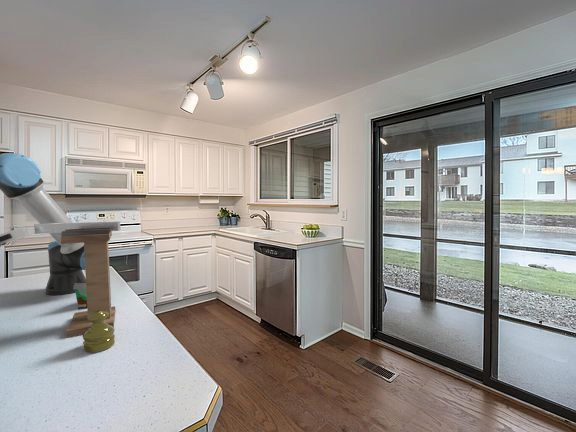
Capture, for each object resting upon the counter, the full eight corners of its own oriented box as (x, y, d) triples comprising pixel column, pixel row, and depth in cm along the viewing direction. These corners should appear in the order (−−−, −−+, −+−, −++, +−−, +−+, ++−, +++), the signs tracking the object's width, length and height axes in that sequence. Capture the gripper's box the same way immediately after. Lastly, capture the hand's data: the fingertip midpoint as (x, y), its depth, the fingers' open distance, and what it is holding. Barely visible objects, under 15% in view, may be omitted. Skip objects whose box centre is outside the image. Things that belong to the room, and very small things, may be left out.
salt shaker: (86, 343, 83) (85, 308, 82) (116, 338, 86) (115, 304, 85) (80, 356, 76) (78, 318, 76) (113, 349, 79) (111, 314, 79)
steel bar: (39, 232, 97) (39, 223, 97) (120, 229, 103) (120, 221, 103) (34, 233, 94) (34, 224, 94) (118, 230, 100) (117, 222, 100)
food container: (88, 311, 107) (87, 284, 106) (74, 310, 108) (73, 283, 107) (114, 299, 119) (113, 275, 118) (102, 298, 120) (100, 275, 119)
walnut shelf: (75, 318, 100) (69, 227, 98) (115, 311, 106) (111, 225, 104) (66, 337, 86) (60, 232, 84) (113, 328, 92) (108, 229, 90)
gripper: (-45, 270, 93) (35, 240, 106) (-73, 280, 74) (30, 241, 86) (-59, 250, 92) (24, 222, 104) (-91, 253, 72) (16, 218, 84)
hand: (27, 231), depth 95 cm, fingers open, 13 cm apart
